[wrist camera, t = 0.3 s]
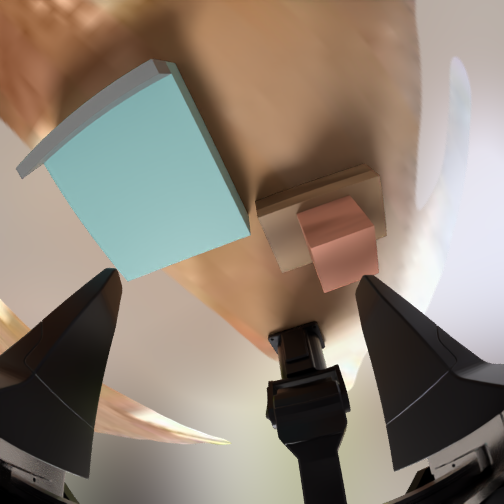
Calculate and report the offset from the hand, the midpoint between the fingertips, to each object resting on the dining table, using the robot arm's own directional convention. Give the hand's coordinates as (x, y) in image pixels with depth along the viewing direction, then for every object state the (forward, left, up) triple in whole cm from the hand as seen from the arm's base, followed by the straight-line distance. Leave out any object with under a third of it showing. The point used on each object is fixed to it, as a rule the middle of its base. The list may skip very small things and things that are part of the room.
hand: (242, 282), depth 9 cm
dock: (+2, +7, -14) cm, 15 cm away
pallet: (-7, -5, -14) cm, 16 cm away
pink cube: (-7, -5, -11) cm, 14 cm away
